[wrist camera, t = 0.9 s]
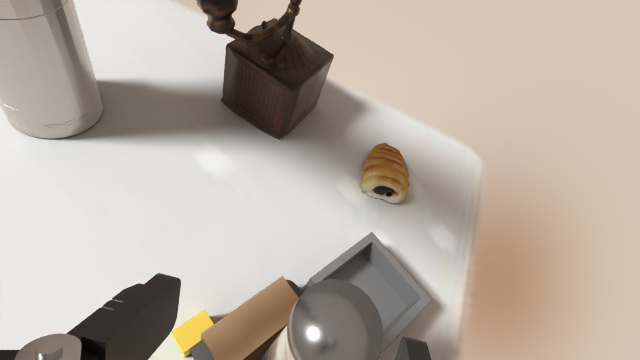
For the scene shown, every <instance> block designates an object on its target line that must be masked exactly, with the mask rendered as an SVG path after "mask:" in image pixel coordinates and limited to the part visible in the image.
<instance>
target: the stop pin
mask: <svg viewBox="0 0 640 360" xmlns="http://www.w3.org/2000/svg"><path fill="white" fill-rule="evenodd" d="M382 344H383V326H382V321H381V317H380V314H379V312H378V310H377V308H376V306H375V304H374V303H373V301H372V300H371V298H370V297H369V296H368V295H367V294H366V293H365V292H364V291H363V290H362V289H360V288H359V287H357V286H356V285H354V284H352V283H350V282H347V281H344V280H339V279H328V280H323V281H320V282H317V283H315V284H313V285H312V286H310V287H309V288H308V289H307V290H306V291H305V292H304V293H303V294H302V295H301V296H300V298H299V299H298V300H297V302H296V303H295V305H294V306H293V308H292V310H291V312H290V315H289V319H288V324H287V326H286V327H285V329H284V330H283V331H282V332H281V333H280V335H279V336H278V337H277V338H276V340H275V341H274V342H273V343H272V344H271V346H270V347H269V348H268V349H267V351H266V352H265V353H264V354H263V356H262V358H261V360H377V359H378V357H379V355H380V352H381V348H382Z"/></svg>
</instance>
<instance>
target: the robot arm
mask: <svg viewBox="0 0 640 360" xmlns="http://www.w3.org/2000/svg"><path fill="white" fill-rule="evenodd" d="M0 107H1V108H2V110H3V112H4V113H5V115H6V117H7V118H8V120H9V122H10V123H11V124H12V125H13V126H14V127H15V128H16V129H17V130H19V131H21V132H22V133H25V134H27V135H30V136H34V137H39V138H63V137H68V136H72V135H75V134H78V133H81V132H83V131H85V130H87V129H88V128H90V127H91V126H93V125H94V124H95V123H96V122H97V121H98V119H99V118H100V117H101V114H102V112H103V104H102V101H101V97H100V93H99V90H98V86H97V83H96V79H95V75H94V72H93V68H92V65H91V61H90V58H89V54H88V51H87V47H86V44H85V40H84V37H83V33H82V30H81V26H80V23H79V19H78V16H77V12H76V9H75V5H74V2H73V0H0ZM180 287H181V281H180V279H179V278H176V277H172V276H168V275H164V274H161V273H158V274H156V275H155V276H154V277H153V278H151V279H150V280H149V281H148V282H147V283H145V284H144V285H143V284H140V283H139V284H136V285H134V286H131V287H129V288H126V289H124V290H122V291H121V292H120V293H119V294H117V295H116V296H115V297H113V298H112V300H110V301H108V302H107V303H106V304H104V305H103V307H102V308H99V309H98V310H97V311H95V312H94V313H93V314H91V315H90V316H89V317H87V318H86V319H85V320H84V321H82V322H81V323H80V324H78V325H77V326H76V327H75V328H73V329H72V330H71V331H69V332H68V333H67V334H52V335H47V336H44V337H41V338H38V339H36V340H34V341H32V342H30V343H28V344H27V345H25V346H24V347H23V348H22V349H21V350H0V360H148V359H149V358H150V356H151V355H152V354H153V353H154V352H155V350H156V349H157V348H158V347H159V346H160V345H161V343H162V342H163V341H164V340H165V339H166V337H167V336H168V335H169V334H170V332H171V331H172V329H173V327H174V324H175V322H176V318H177V312H178V304H179V295H180ZM395 360H431V358H430V354H429V350H428V347H427V343H426V342H424V341H420V340H416V339H412V338H408V337H403V338H402V340H401V342H400V346H399V349H398V352H397V356H396V359H395Z"/></svg>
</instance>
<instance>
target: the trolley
mask: <svg viewBox="0 0 640 360" xmlns="http://www.w3.org/2000/svg"><path fill="white" fill-rule="evenodd" d="M302 294H303V292H302V291H301V290H300V288H299V287H298V286H297V285H296V284H295V283H293V282H292V281H290V280H285V279H284V277H283V276H282V277H281V278H279V279H278V280H276V281H275V282H274V283H272V284H271V285H269V286H268V287H266V288H265V289H264V290H262V291H261V292H259V293H258V294H256V295H255V296H254V297H252V298H251V299H249V300H248V301H247V302H245V303H244V304H242V305H241V306H239V307H238V308H237V309H235V310H234V311H232V312H231V313H229V314H228V315H227V316H225V317H224V318H222V319H221V320H220V321H218V322H217V323H215V324H214V323H213V322H212V320H211V319H210V317H209V316H208V314H207V312H206V311H205V310H203V311H202V312H200V313H199V314H197V315H196V316H194V317H193V318H191V319H190V320H188V321H187V322H185V323H184V324H182V325H181V326H179V327H178V328H176V329H175V330H173V331H172V335H173V338H174V340H175V342H176V344H177V345H178V347H179V349H180V350H181V352H182V354H183V356H184V357H186V356H188V355H189V354H192V356H193V358H194V360H261V358H262V356H263V354H264V353H265V352H266V351H267V349H268V348H269V347H270V346H271V344H272V343H273V342H274V341H275V340H276V338H277V337H278V336H279V335H280V333H281V332H282V331H283V330H284V329H285V327H286V326H287V324H288V319H289V315H290V312H291V310H292V308H293V306H294V305H295V303H296V302H297V300H298V299H299V298H300V296H301V295H302Z"/></svg>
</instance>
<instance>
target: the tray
mask: <svg viewBox="0 0 640 360" xmlns="http://www.w3.org/2000/svg"><path fill="white" fill-rule="evenodd" d="M328 279H339V280H344V281H347V282H350V283H352V284H354V285H356V286H357V287H359V288H360V289H362V290H363V291H364V292H365V293H366V294H367V295H368V296H369V297H370V298H371V300H372V301H373V303H374V304H375V306H376V308H377V310H378V312H379V314H380V317H381V321H382V326H383V344H382V348H381V352H380V354H381V353H382V352H383V351H384V350H385V349H386V348H387V347H388V346H389V345H390V344H391V342H392V341H393V340H394V339H395V338H396V337H397V336H398V335H399V334H400V333H401V332H402V331H403V330H404V329H405V327H406V326H407V325H408V324H409V323H410V322H411V321H412V320H413V319H414V318H415V317H416V316H417V315H418V314H419V312H420V311H421V310H422V309H423V308H424V307H425V306H426V305H427V304H428V303H429V302H430V301H431V298H430V297H429V296H428V295H427V294H426V293H425V292H424V291H423V289H422V288H421V287H420V286H419V285H418V284H417V283H416V281H415V280H414V279H413V278H412V277H411V276H410V275H409V274H408V272H407V271H406V270H405V269H404V268H403V267H402V266H401V264H400V263H399V262H398V261H397V260H396V259H395V258H394V256H393V255H392V254H391V253H390V252H389V251H388V250H387V249H386V247H385V246H384V245H383V244H382V243H381V242H380V241H379V239H378V238H377V237H376V236H375V235H374V234H373V233H372V232H371V233H370V234H369V235H367V236H366V237H365V238H363V239H362V240H361V241H359V242H358V243H357V244H355V245H354V246H353V247H351V248H350V249H349V250H347V251H346V252H345V253H343V254H342V255H341V256H339V257H338V258H337V259H335V260H334V261H333V262H331V263H330V264H329V265H327V266H326V267H325V268H323V269H322V270H321V271H319V272H318V273H317V274H315V275H314V276H313V277H311V278H310V280H309V281H308V282H307V284H306V285H305V286H304V288H303V289H302V292H303V293H304V292H305V291H306V290H307V289H308V288H309V287H310V286H312V285H313V284H315V283H317V282H320V281H323V280H328Z"/></svg>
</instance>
